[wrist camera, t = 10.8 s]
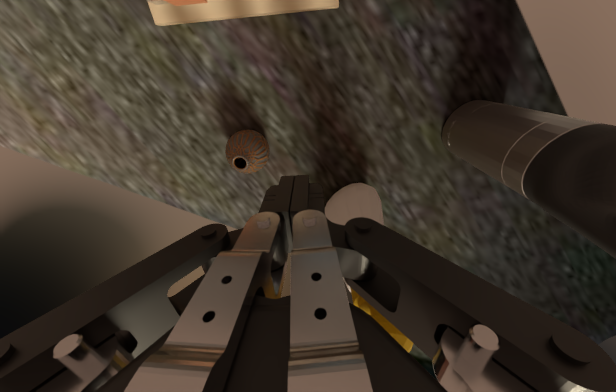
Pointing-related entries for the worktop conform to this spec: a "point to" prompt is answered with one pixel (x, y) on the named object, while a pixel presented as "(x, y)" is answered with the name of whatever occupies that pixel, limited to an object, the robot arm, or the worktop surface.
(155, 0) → the rail
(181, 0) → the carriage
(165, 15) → the hole board
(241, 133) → the vase
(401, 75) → the worktop surface
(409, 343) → the soap bottle
